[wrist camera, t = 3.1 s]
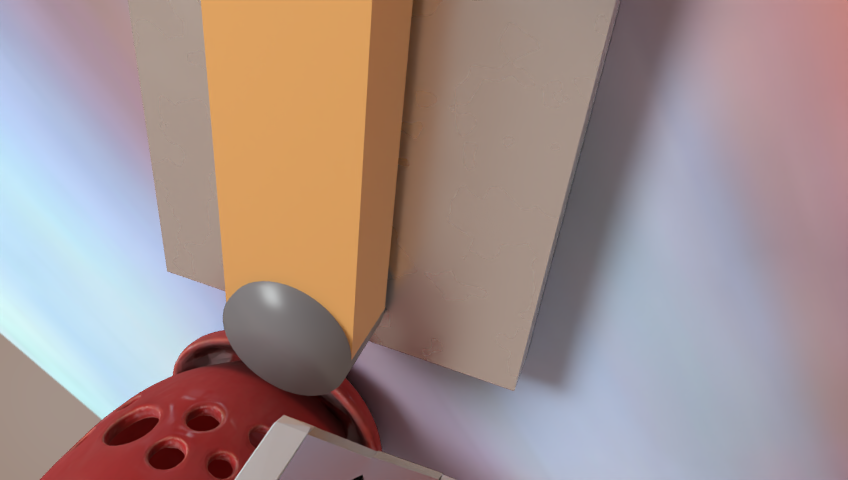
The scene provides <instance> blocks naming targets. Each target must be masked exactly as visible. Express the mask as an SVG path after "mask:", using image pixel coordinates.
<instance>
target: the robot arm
mask: <svg viewBox="0 0 848 480" xmlns="http://www.w3.org/2000/svg"><path fill="white" fill-rule="evenodd" d="M234 480H456V479H453V478H450V477H448V476H445V475H443V473H440V472H438V471H435V470H432V469H429V468H426V467H423V466H421V465H418V464H415V463H412V462H409V461H406V460H404V459H401V458H398V457H395V456H392V455H390V454H387V453H384V452H381V451H375V450H373V449H370V448H368V447H365V446H363V445H360V444H358V443H355V442H352V441H350V440H347V439H345V438H342V437H340V436H337V435H335V434H332V433H329V432H327V431H324V430H322V429H319V428H317V427H315V426H312V425H310V424H307V423H304V422H302V421H299V420H296V419H294V418H291V417H288V416H286V415H283V416H282V417H281V418H279V419H278V420H277V421H276V422H275V423H274V424H273V425H272V427H271V428H270V429H269V431H268V432H267V434H266V435H265V437H264V438H263V439H262V441H261V442H260V444H259V445H258V447H257V448H256V449H255V451H254V452H253V454H252V455H251V457H250V458H249V459H248V461H247V462H246V464H245V465H244V466H243V468H242V469H241V471H240V472H239V474H238V475H237V476H236V478H235V479H234Z"/></svg>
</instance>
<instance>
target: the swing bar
mask: <svg viewBox="0 0 848 480" xmlns="http://www.w3.org/2000/svg"><path fill="white" fill-rule="evenodd" d="M412 6H413V0H201V10H202V21H203V33H204V45H205V57H206V68H207V80H208V92H209V104H210V115H211V127H212V139H213V151H214V162H215V174H216V186H217V198H218V209H219V221H220V233H221V244H222V256H223V268H224V280H225V291H226V305H225V308H224V312H223V325H224V330H225V333H226V336H227V338H228V340H229V343H230V344H231V346H232V348H233V350H234V351H235V352H236V354H237V355H238V357H239V358H240V359H241V360H242V361H243V362H244V363H245V364H246V365H247V366H248V368H250V369H251V370H252V371H253V372H254V373H255V374H257V375H258V376H259V377H261V378H262V379H264V380H265V381H267V382H268V383H270V384H272V385H274V386H276V387H278V388H280V389H282V390H285V391H288V392H291V393H294V394H299V395H306V396H317V395H323V394H327V393H329V392H331V391H333V390H335V389H336V388H338V387H339V386H340V385H341V383H342V382H343V381H344V379H345V377H346V376H347V374H348V373H349V371H350V370H351V368H352V366H353V365H354V363H355V362H356V360H357V359H358V357H359V355H360V354H361V352H362V351H363V349H364V348H365V346H366V344H367V343H368V341H369V340H370V338H371V337H372V335H373V333H374V332H375V330H376V329H377V327H378V326H379V324H380V322H381V321H382V318H383V315H384V310H385V300H386V289H387V279H388V268H389V257H390V246H391V235H392V224H393V213H394V202H395V191H396V180H397V169H398V158H399V147H400V137H401V126H402V115H403V104H404V93H405V82H406V71H407V60H408V49H409V38H410V27H411V16H412Z"/></svg>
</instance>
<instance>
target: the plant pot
mask: <svg viewBox="0 0 848 480" xmlns="http://www.w3.org/2000/svg"><path fill="white" fill-rule="evenodd" d="M283 415H286V416H288V417H291V418H294V419H296V420H299V421H302V422H304V423H307V424H310V425H312V426H315V427H317V428H319V429H322V430H324V431H327V432H329V433H332V434H335V435H337V436H340V437H342V438H345V439H347V440H350V441H352V442H355V443H358V444H360V445H363V446H365V447H368V448H370V449H373V450H375V451H381V452H382V448H381V443H380V437H379V433H378V430H377V427H376V424H375V422H374V419H373V417H372V415H371V413H370V411H369V409H368V407H367V405H366V404H365V402H364V401H363V399H362V398H361V396H360V395H359V393H358V392H357V391H356V389H355V388H354V387H353V386H352V384H351V383H350V382H349V381H348V380H347V379H346V378H345V379H344V381H343V382H342V383H341V385H340V386H339V387H338V388H336V389H335V390H333V391H331V392H329V393H327V394H323V395H317V396H306V395H299V394H294V393H291V392H288V391H285V390H282V389H280V388H278V387H276V386H274V385H272V384H270V383H268V382H267V381H265V380H264V379H262V378H261V377H259V376H258V375H257V374H255V373H254V372H253V371H252V370H251V369H250V368H248V366H247V365H246V364H245V363H244V362H243V361H242V360H241V359H240V358H239V357H238V355H237V354H236V352H235V351H234V350H233V348H232V346H231V344H230V343H229V340H228V338H227V336H226V333H225V330H223V331H218V332H214V333H210V334H208V335H205V336H202V337H201V338H199V339H197V340H196V341H194V342H193V343H191V344H190V345H189V346H188V347H186V348H185V349H184V351H183V352H182V353H181V354H180V356H179V357H178V359H177V361H176V363H175V366H174V371H173V376H172V377H169V378H167V379H165V380H163V381H161V382H158V383H156V384H154V385H152V386H151V387H149V388H147V389H145V390H143V391H142V392H140V393H138V394H137V395H135V396H134V397H132V398H131V399H129V400H128V401H126V402H125V403H124V404H122V405H121V406H120V407H118V408H117V409H116V410H114V411H113V412H112V413H110V414H109V415H108V416H106V417H105V418H104V419H103V420H101V421H100V422H99V423H98V424H97V425H95V426H94V427H93V428H92V429H91V430H90V431H89V432H88V433H87V434H86V435H85V436H84V437H83V438H82V439H81V440H79V442H77V443H76V444H75V445H74V446H73V447H72V448H71V449H70V450H69V451H68V452H67V453H66V454H65V455H64V456H63V457H62V458H61V459H60V460H59V461H57V462H56V463H55V464H54V465H53V466H52V468H51V469H50V470H49V471H48V472H47V473H46V474H45V475H44V476H43V477H42V478H41V479H40V480H234V479H235V478H236V476H237V475H238V474H239V472H240V471H241V469H242V468H243V466H244V465H245V464H246V462H247V461H248V459H249V458H250V457H251V455H252V454H253V452H254V451H255V449H256V448H257V447H258V445H259V444H260V442H261V441H262V439H263V438H264V437H265V435H266V434H267V432H268V431H269V429H270V428H271V427H272V425H273V424H274V423H275V422H276V421H277V420H278V419H279V418H281V417H282V416H283Z"/></svg>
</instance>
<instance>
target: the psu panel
mask: <svg viewBox="0 0 848 480" xmlns="http://www.w3.org/2000/svg"><path fill="white" fill-rule="evenodd" d="M620 1H621V0H413V6H412V16H411V27H410V38H409V49H408V60H407V71H406V82H405V93H404V104H403V115H402V126H401V137H400V147H399V158H398V169H397V180H396V191H395V202H394V213H393V224H392V235H391V246H390V257H389V268H388V279H387V289H386V300H385V310H384V315H383V318H382V321H381V322H380V324H379V326H378V327H377V329H376V330H375V332H374V333H373V335H372V337H371V338H370V340H369V341H371V342H374V343H377V344H379V345H382V346H385V347H388V348H391V349H394V350H397V351H400V352H403V353H405V354H408V355H411V356H414V357H417V358H420V359H423V360H426V361H429V362H431V363H434V364H437V365H440V366H443V367H446V368H449V369H452V370H455V371H458V372H460V373H463V374H466V375H469V376H472V377H475V378H478V379H481V380H484V381H486V382H489V383H492V384H495V385H498V386H501V387H504V388H507V389H510V390H512V391H514V390H515V387H516V384H517V382H518V379H519V376H520V373H521V371H522V368H523V365H524V362H525V360H526V357H527V353H528V349H529V345H530V341H531V338H532V334H533V330H534V326H535V323H536V319H537V315H538V311H539V307H540V304H541V300H542V296H543V292H544V289H545V285H546V281H547V277H548V273H549V270H550V266H551V262H552V258H553V255H554V251H555V247H556V243H557V239H558V236H559V232H560V228H561V224H562V221H563V217H564V213H565V209H566V205H567V202H568V198H569V194H570V190H571V187H572V183H573V179H574V175H575V171H576V168H577V164H578V160H579V156H580V153H581V149H582V145H583V141H584V137H585V134H586V130H587V126H588V122H589V119H590V115H591V111H592V107H593V103H594V100H595V96H596V92H597V88H598V85H599V81H600V77H601V73H602V69H603V66H604V62H605V58H606V54H607V50H608V47H609V43H610V39H611V35H612V32H613V28H614V24H615V20H616V16H617V13H618V9H619V5H620ZM128 5H129V12H130V19H131V26H132V33H133V39H134V46H135V53H136V60H137V67H138V74H139V81H140V87H141V94H142V101H143V108H144V115H145V122H146V129H147V135H148V142H149V149H150V156H151V163H152V170H153V177H154V183H155V190H156V197H157V204H158V211H159V218H160V225H161V231H162V238H163V245H164V252H165V259H166V266H167V271H168V272H171V273H174V274H177V275H180V276H183V277H186V278H188V279H191V280H194V281H197V282H200V283H203V284H206V285H209V286H212V287H215V288H217V289H220V290H223V291H225V280H224V268H223V256H222V244H221V233H220V221H219V209H218V198H217V186H216V174H215V162H214V151H213V139H212V127H211V115H210V104H209V92H208V80H207V68H206V57H205V45H204V33H203V21H202V10H201V0H128Z"/></svg>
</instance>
